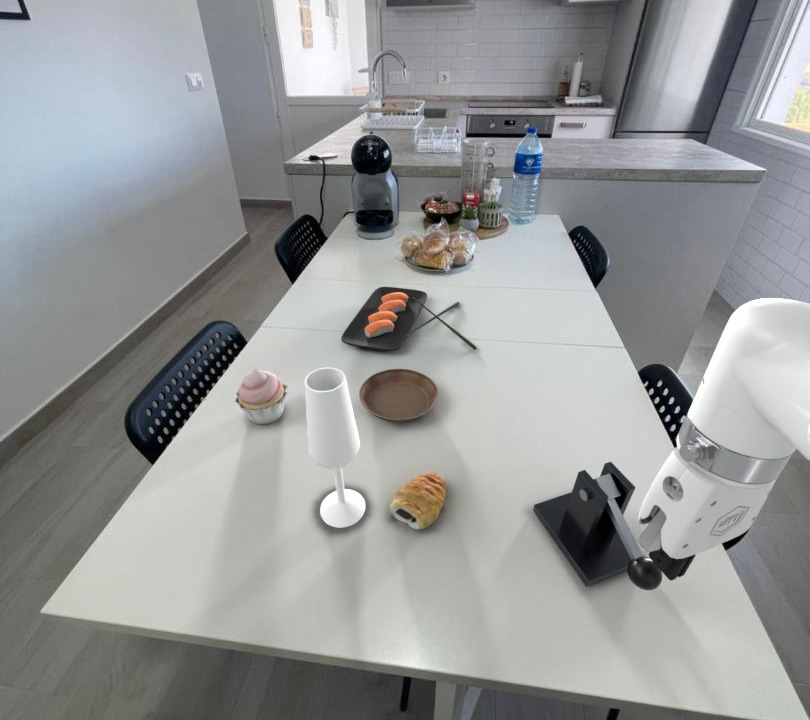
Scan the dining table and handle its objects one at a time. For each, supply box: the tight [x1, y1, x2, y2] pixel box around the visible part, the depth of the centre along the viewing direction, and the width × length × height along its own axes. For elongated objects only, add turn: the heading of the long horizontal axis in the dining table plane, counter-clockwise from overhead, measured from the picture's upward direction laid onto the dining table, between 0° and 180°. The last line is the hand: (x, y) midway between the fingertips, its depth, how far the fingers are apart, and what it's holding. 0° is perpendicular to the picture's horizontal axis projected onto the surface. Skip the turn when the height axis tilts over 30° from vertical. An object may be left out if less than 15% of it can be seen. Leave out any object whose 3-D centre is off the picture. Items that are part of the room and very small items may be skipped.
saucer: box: [358, 368, 439, 423], centre depth 84 cm, size 15×15×3 cm
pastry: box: [388, 472, 448, 531], centre depth 65 cm, size 9×7×4 cm
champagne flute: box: [304, 366, 367, 529], centre depth 59 cm, size 7×7×24 cm
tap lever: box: [593, 474, 663, 591], centre depth 54 cm, size 13×4×4 cm, turn 20°
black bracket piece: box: [532, 461, 645, 587], centre depth 58 cm, size 12×9×12 cm
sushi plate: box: [340, 286, 477, 352], centre depth 107 cm, size 29×30×4 cm
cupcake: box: [234, 368, 289, 425], centre depth 80 cm, size 9×9×10 cm
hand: (665, 565), depth 48 cm, fingers closed
